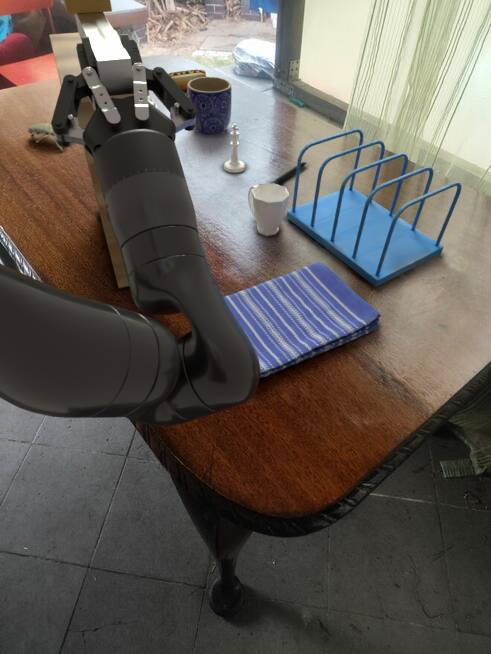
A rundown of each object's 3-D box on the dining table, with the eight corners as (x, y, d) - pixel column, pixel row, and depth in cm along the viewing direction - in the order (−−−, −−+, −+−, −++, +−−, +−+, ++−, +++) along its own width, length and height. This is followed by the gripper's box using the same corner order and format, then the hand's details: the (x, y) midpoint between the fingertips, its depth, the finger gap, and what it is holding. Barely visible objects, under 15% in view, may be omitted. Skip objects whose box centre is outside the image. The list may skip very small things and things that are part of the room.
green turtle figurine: (34, 152, 106) (30, 129, 103) (29, 142, 114) (25, 120, 111) (73, 150, 110) (70, 128, 107) (66, 141, 117) (63, 120, 115)
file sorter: (285, 218, 91) (293, 143, 80) (348, 194, 98) (363, 122, 87) (375, 288, 77) (400, 209, 66) (441, 254, 84) (473, 178, 73)
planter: (205, 142, 114) (203, 95, 105) (181, 127, 119) (178, 82, 111) (239, 131, 118) (240, 86, 110) (215, 118, 124) (214, 73, 116)
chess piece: (232, 160, 108) (232, 117, 100) (249, 166, 106) (250, 123, 98) (219, 168, 105) (218, 124, 97) (236, 175, 103) (237, 131, 96)
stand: (172, 279, 78) (148, 85, 55) (113, 291, 75) (62, 93, 53) (143, 204, 94) (115, 29, 71) (94, 212, 91) (49, 34, 69)
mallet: (146, 92, 43) (135, 4, 38) (92, 98, 42) (73, 7, 37) (110, 30, 58) (99, -40, 53) (70, 33, 56) (54, -39, 51)
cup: (264, 244, 85) (266, 206, 79) (234, 219, 91) (234, 182, 85) (293, 232, 88) (297, 195, 82) (262, 208, 93) (265, 172, 88)
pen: (307, 159, 106) (303, 160, 107) (267, 185, 97) (263, 186, 98) (309, 164, 106) (305, 164, 107) (269, 190, 98) (265, 191, 99)
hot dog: (209, 89, 138) (209, 72, 135) (168, 95, 134) (166, 77, 131) (203, 84, 141) (202, 66, 138) (162, 90, 137) (160, 72, 134)
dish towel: (383, 328, 71) (387, 315, 69) (252, 387, 62) (253, 375, 60) (319, 266, 81) (321, 254, 79) (198, 310, 73) (197, 297, 70)
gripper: (228, 163, 39) (177, 2, 42) (58, 188, 35) (16, 11, 39) (217, 207, 46) (173, 66, 49) (74, 232, 42) (38, 79, 46)
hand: (105, 43), depth 44 cm, fingers closed on mallet, 3 cm apart
